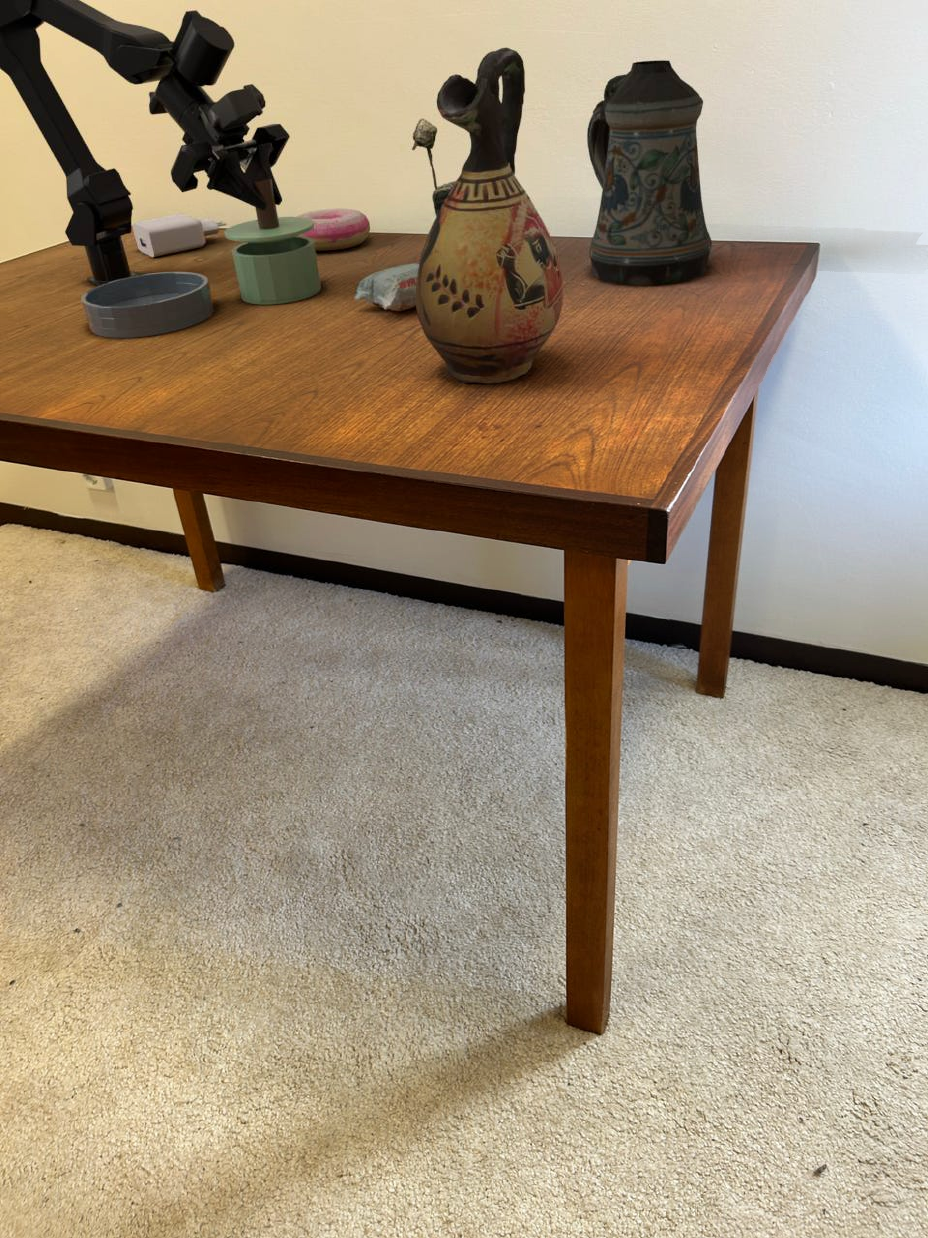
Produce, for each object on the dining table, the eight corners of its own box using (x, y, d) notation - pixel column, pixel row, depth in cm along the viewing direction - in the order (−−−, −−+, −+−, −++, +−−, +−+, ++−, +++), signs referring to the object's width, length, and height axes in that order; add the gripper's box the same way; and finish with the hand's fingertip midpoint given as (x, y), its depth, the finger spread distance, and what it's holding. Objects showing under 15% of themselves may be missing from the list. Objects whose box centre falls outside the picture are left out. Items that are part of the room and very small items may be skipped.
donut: (367, 252, 152) (363, 219, 149) (285, 258, 153) (280, 225, 150) (375, 232, 163) (371, 202, 160) (299, 238, 164) (294, 208, 161)
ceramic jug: (521, 404, 94) (505, 58, 77) (396, 384, 102) (357, 64, 85) (594, 349, 106) (595, 37, 89) (477, 335, 113) (457, 44, 96)
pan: (73, 321, 132) (64, 292, 130) (184, 293, 140) (177, 265, 137) (116, 346, 120) (107, 315, 118) (234, 314, 128) (228, 284, 126)
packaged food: (462, 301, 125) (459, 263, 122) (387, 323, 120) (382, 283, 117) (426, 290, 131) (422, 253, 128) (353, 310, 126) (347, 272, 123)
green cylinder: (228, 294, 137) (218, 248, 133) (296, 277, 142) (288, 232, 139) (264, 309, 129) (255, 260, 126) (335, 290, 135) (328, 242, 131)
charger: (237, 241, 166) (154, 258, 160) (217, 233, 173) (138, 250, 166) (231, 212, 163) (147, 229, 157) (212, 205, 170) (130, 221, 164)
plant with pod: (464, 278, 135) (452, 122, 123) (409, 268, 141) (393, 119, 130) (501, 264, 139) (493, 112, 128) (446, 256, 146) (434, 110, 135)
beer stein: (686, 290, 122) (699, 67, 108) (550, 280, 130) (545, 73, 116) (725, 257, 133) (741, 52, 119) (598, 250, 142) (599, 58, 128)
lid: (211, 237, 133) (199, 183, 129) (288, 220, 138) (279, 168, 134) (251, 250, 124) (240, 193, 120) (331, 232, 130) (323, 176, 126)
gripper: (163, 73, 115) (247, 174, 116) (266, 56, 128) (341, 147, 129) (137, 143, 123) (216, 237, 124) (236, 121, 136) (307, 206, 137)
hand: (272, 204), depth 128 cm, fingers closed on lid, 3 cm apart
